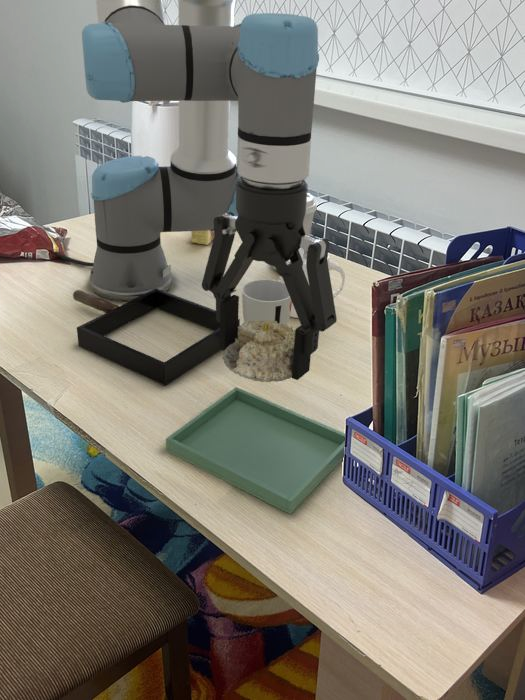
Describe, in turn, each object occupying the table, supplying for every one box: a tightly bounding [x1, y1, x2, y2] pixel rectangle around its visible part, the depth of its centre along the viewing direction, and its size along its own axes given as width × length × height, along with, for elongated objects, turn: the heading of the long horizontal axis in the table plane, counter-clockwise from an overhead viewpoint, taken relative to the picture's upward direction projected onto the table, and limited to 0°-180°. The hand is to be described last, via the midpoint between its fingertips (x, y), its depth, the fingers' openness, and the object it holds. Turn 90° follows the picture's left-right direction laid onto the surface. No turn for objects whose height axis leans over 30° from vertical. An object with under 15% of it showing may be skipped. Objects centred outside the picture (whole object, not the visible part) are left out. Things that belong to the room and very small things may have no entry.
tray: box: [165, 386, 346, 515], centre depth 90 cm, size 19×15×2 cm
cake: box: [222, 320, 295, 383], centre depth 83 cm, size 10×10×5 cm
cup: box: [241, 278, 292, 326], centre depth 112 cm, size 8×8×10 cm
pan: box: [72, 288, 241, 386], centre depth 115 cm, size 29×19×4 cm, turn 56°
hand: (263, 359), depth 84 cm, fingers closed on cake, 10 cm apart
